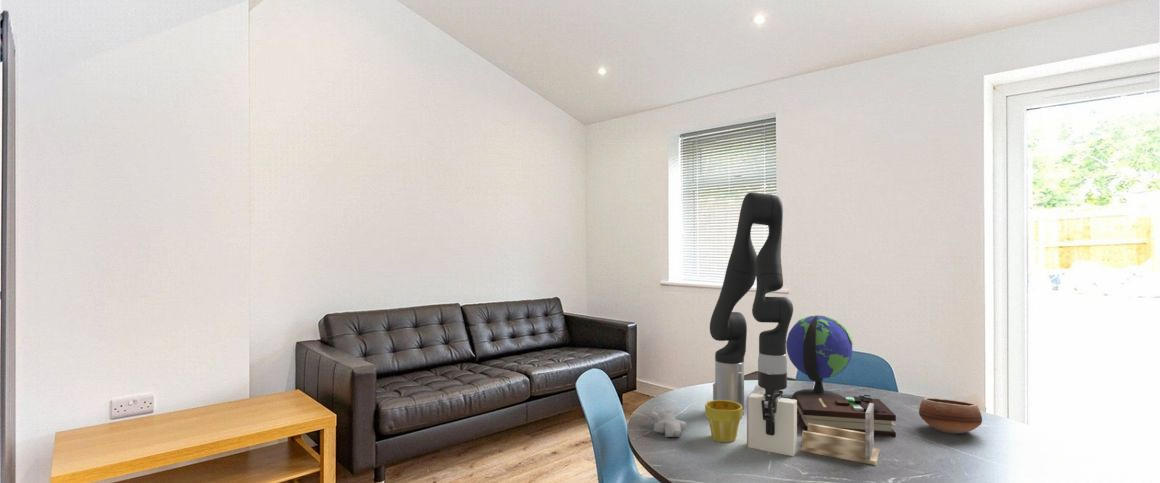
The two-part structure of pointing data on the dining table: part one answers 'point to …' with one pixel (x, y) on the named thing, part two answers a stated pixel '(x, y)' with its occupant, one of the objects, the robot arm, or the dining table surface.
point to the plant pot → (723, 419)
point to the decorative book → (844, 413)
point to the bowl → (950, 415)
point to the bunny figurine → (668, 424)
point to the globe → (819, 350)
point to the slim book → (784, 426)
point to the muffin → (758, 390)
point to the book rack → (843, 441)
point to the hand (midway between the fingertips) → (772, 431)
